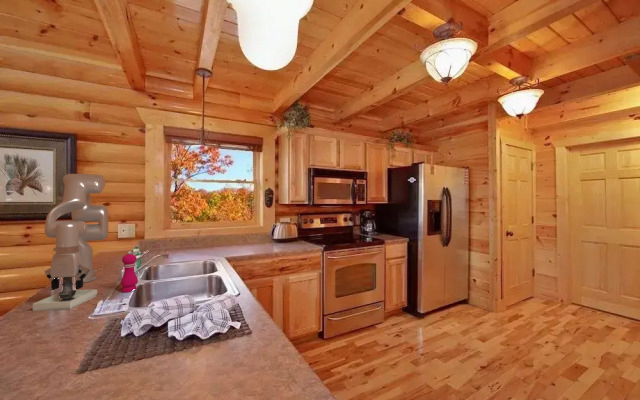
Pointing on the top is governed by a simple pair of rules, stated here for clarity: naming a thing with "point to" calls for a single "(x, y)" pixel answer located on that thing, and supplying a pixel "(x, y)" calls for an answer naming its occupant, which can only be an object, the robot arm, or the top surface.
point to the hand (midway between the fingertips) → (67, 288)
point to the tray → (54, 303)
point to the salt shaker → (67, 290)
